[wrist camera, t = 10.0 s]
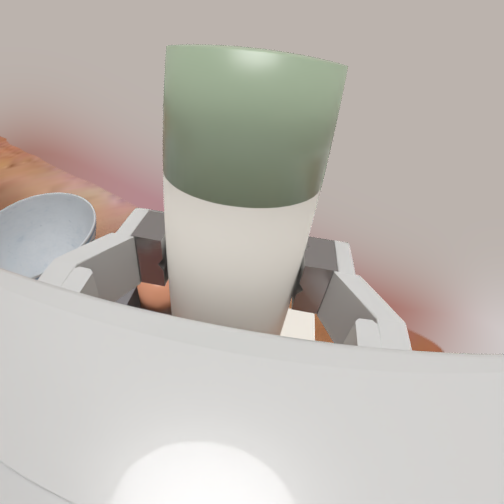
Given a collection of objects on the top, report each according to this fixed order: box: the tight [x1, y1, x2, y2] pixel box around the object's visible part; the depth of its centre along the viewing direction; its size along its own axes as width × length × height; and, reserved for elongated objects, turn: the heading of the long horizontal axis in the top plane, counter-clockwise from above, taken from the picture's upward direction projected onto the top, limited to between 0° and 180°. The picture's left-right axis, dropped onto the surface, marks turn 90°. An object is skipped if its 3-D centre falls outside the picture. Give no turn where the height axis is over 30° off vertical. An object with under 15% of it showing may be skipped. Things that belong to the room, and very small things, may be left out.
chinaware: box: [0, 193, 96, 280], centre depth 27 cm, size 15×15×8 cm
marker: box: [163, 45, 348, 336], centre depth 10 cm, size 4×4×12 cm
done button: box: [137, 280, 172, 315], centre depth 27 cm, size 4×4×4 cm
